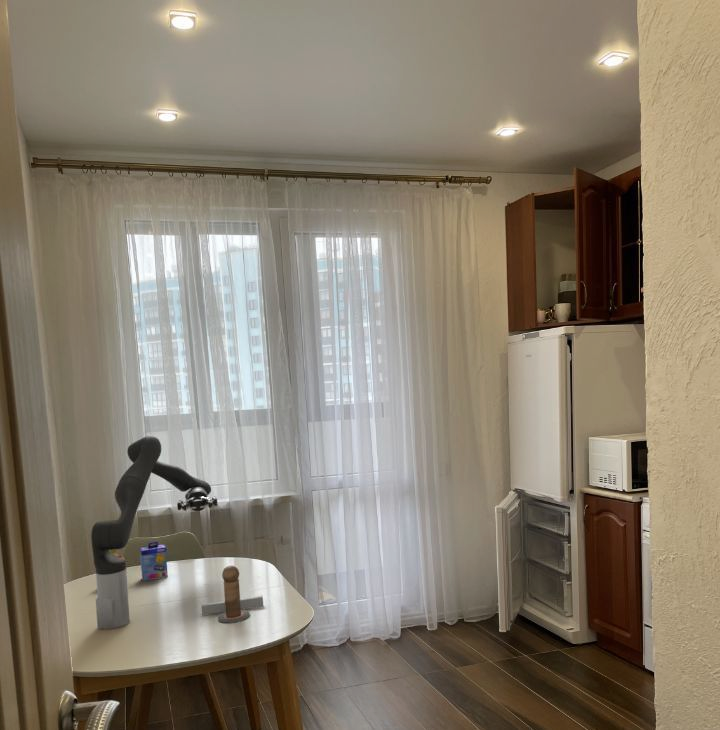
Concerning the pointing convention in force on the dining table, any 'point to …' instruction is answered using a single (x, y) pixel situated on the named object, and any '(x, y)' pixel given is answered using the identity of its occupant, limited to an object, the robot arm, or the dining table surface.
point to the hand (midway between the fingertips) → (197, 506)
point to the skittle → (231, 591)
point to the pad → (242, 617)
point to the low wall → (220, 606)
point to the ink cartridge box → (153, 561)
